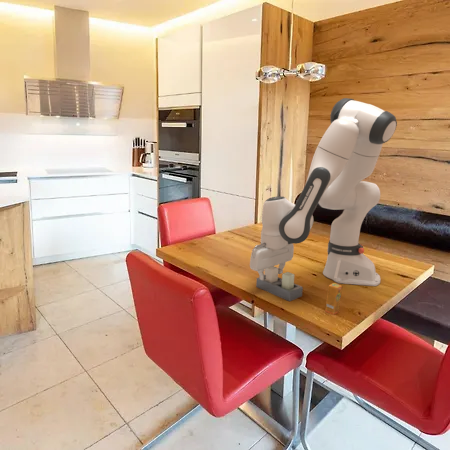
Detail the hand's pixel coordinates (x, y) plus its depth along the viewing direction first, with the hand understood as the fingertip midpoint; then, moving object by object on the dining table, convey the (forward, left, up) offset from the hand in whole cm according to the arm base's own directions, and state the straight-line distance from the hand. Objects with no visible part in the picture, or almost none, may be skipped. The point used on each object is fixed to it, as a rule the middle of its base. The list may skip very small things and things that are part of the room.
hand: (271, 276), depth 141 cm
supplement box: (-23, +11, -5) cm, 26 cm away
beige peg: (-7, +4, -5) cm, 9 cm away
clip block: (0, 0, -5) cm, 5 cm away
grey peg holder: (-3, +2, -5) cm, 6 cm away
